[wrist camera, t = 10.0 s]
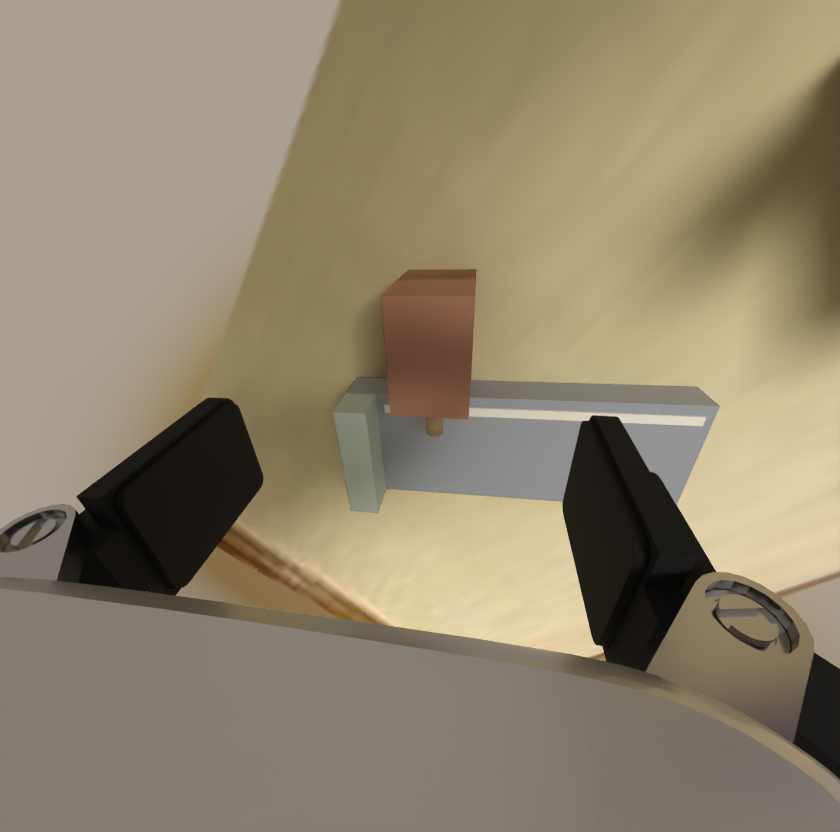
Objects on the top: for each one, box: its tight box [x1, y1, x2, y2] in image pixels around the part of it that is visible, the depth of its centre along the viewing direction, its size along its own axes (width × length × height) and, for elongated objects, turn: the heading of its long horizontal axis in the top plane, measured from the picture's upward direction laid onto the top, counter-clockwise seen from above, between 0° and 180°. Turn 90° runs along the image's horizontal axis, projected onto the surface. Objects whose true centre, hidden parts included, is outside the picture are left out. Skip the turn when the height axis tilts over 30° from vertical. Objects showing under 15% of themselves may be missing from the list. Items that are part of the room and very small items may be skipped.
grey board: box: [333, 377, 720, 513], centre depth 24 cm, size 8×22×5 cm, turn 92°
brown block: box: [381, 269, 476, 437], centre depth 20 cm, size 8×4×7 cm, turn 1°
